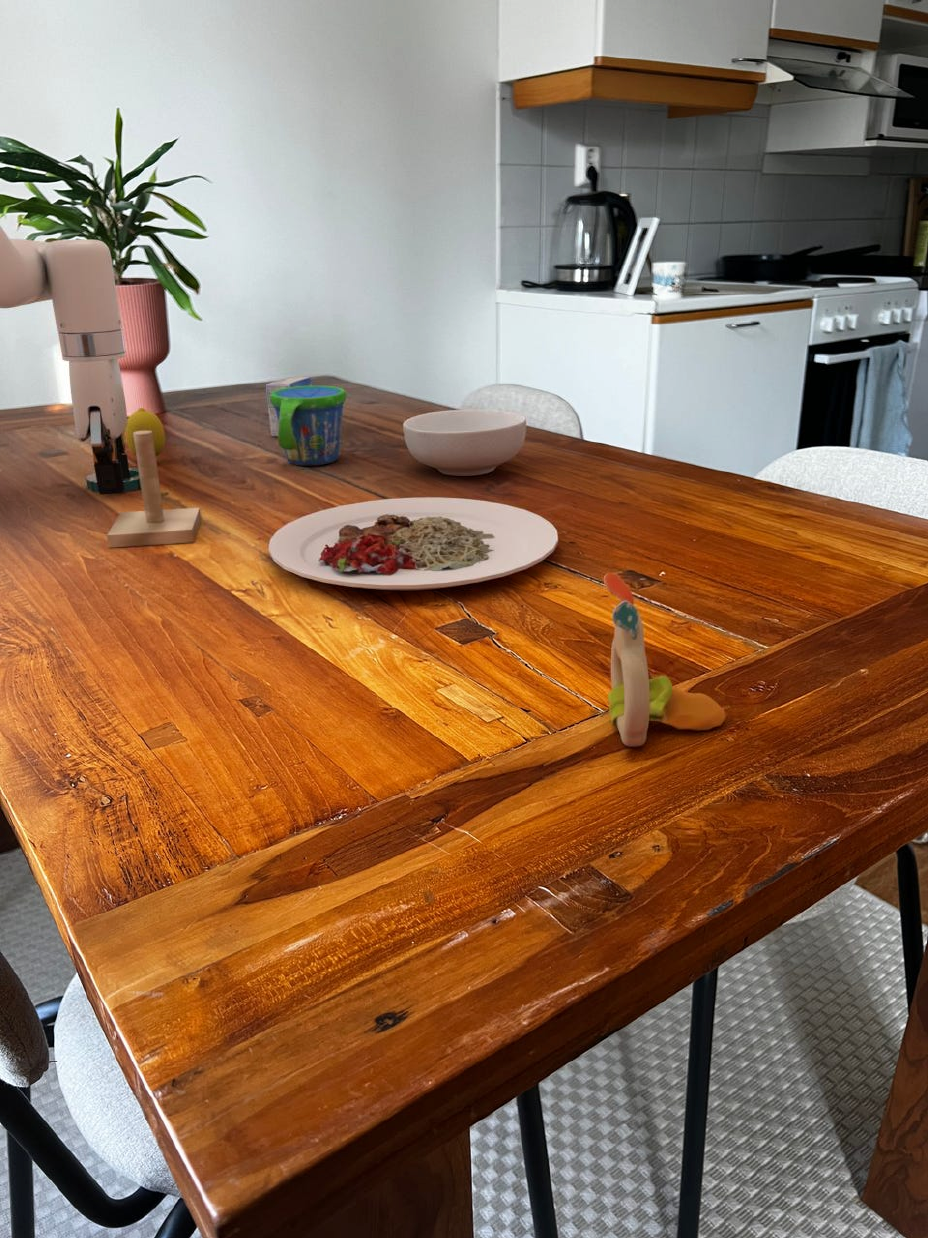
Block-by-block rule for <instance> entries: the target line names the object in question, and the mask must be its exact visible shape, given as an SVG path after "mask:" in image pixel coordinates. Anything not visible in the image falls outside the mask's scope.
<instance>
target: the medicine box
mask: <svg viewBox="0 0 928 1238" xmlns="http://www.w3.org/2000/svg"><path fill="white" fill-rule="evenodd" d="M297 386H313V385H312V378H311V377H309V376H290V377H286V378H283V379H280V380H276V381H273V382H270V383H267V384H265V390H266V399H267V400H266V401H267V409H268V411H267V412H268V418H269V429H270V436H271V437H275V438H278V431H279V421H278V419H277V413H276V410H275V408H274V406H273V404H271V401H270V395H271V393H272V392H273V391H276V390H279V389H283V388H289V387H297Z"/></svg>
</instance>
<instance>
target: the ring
mask: <svg viewBox="0 0 928 1238" xmlns="http://www.w3.org/2000/svg"><path fill="white" fill-rule="evenodd" d="M129 472H130V478H127V479H123V481H124V487H125V492H124V493H126V492H132V491H138V490H141V483H140V476H139V470H138V467H129ZM85 482H86V489H87V490H89V491H91V492H93V493H99V492H98V486H97V480H96V474H95V472H93V473H90V474H88V475H87V476H86V477H85Z"/></svg>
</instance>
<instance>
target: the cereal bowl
mask: <svg viewBox="0 0 928 1238" xmlns="http://www.w3.org/2000/svg"><path fill="white" fill-rule="evenodd" d="M402 429H403V434H404V435H403V437H404V442H405V446H406V448H407V450H408V452H409V453H410V455H411V456H412V457H413V458H414V459H415V460H416V461H418V462H419V463H420V464H423V465H426V467H431V468H433V469H436V470H437V471H438V472H439V473H441V474H443V475H448V476H454V477H455V476H456V477H467V476H468V477H471V476H480V475H485V474H488V473H491V472H494V470H496V467H498V466H500V465H502V464H504V463H506V462H508V461H510V460H512V459H513V458H514V457H515V456H517V455H518V453H519V452H520V451H521V449H522V448H523V446H524V443H525V439H526V433H527V419H526V417H525V416H523V414H520V413H517V412H512V411H506V410H496V409H452V410H451V409H450V410H442V411H441V410H440V411H433V412H427V413H422V414H419V415H416V416H415V415H414V416H412V417H409V418H408V419H406V420H405V421H404V422H403V424H402Z"/></svg>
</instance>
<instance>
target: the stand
mask: <svg viewBox="0 0 928 1238" xmlns="http://www.w3.org/2000/svg"><path fill="white" fill-rule="evenodd" d="M133 436H134V443H135V449H136V455H135V457H136V462H137V468H138V470H139V476H140V483H141V489H140V490H141V495H142V504H143V510H136V511H121V512H120V514H119V515H118V517H117V518H116V520H115V521H114V523H113V525H112V526H111V527H110V529H109V531H108V532H107V534H106V537H107V543H108V548H111V549H112V548H128V547H129V548H130V547H142V546H144V547H145V546H159V545H175V544H189V543H190V544H191V543H195V541H196V537H197V533H198V531H199V528H200V525H201V522H202V512H201V508H200V507H187V508H171V509H169V508H168V509H164V505H163V499H162V498H163V497H162V492H161V484H160V477H159V469H158V463H157V456H156V455H155V448H154V441H153V434H152V431H137V432H134V433H133Z"/></svg>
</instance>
